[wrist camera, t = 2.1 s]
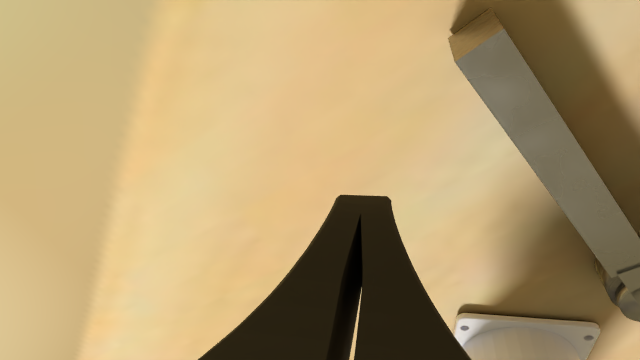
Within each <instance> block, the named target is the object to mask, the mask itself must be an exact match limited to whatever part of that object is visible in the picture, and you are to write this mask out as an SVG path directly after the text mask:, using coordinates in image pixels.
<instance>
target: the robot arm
mask: <svg viewBox="0 0 640 360" xmlns="http://www.w3.org/2000/svg"><path fill="white" fill-rule="evenodd" d="M361 288H362V294H361ZM360 294H361V303H360V313H359V322H358V331H357V340H356V348H355V356H354V360H587V358H588V356H589V354H590V352H591V350H592V348H593V346H594V344H595V342H596V340H597V338H598V336H599V334H600V328H599V326H598V325H597V324H596V323H592V322H581V321H567V320H554V319H540V318H527V317H514V316H500V315H487V314H473V313H461V314H459V315H458V316H457V318H456V323H455V329H454V334H452V332H451V331H450V329H449V328H448V326H447V325H446V323H445V322H444V320H443V319H442V317H441V316H440V314H439V312H438V311H437V309H436V308H435V306H434V304H433V303H432V301H431V299H430V298H429V296H428V294H427V292H426V291H425V289H424V287H423V285H422V283H421V281H420V279H419V277H418V275H417V273H416V271H415V269H414V267H413V265H412V263H411V261H410V259H409V257H408V254H407V252H406V249H405V247H404V245H403V242H402V240H401V237H400V235H399V232H398V229H397V226H396V223H395V219H394V215H393V211H392V206H391V200H390V199H389V198H388V197H387V196H360V195H340V196H339V197H337V198H336V200H335V203H334V205H333V207H332V209H331V211H330V213H329V214H328V216H327V218H326V220H325V221H324V223H323V225H322V226H321V228H320V230H319V231H318V233H317V234H316V236H315V237H314V239H313V240H312V242H311V243H310V245H309V246H308V248H307V249H306V251H305V252H304V253H303V255H302V256H301V257H300V259H299V260H298V261H297V262H296V264H295V265H294V266H293V268H292V269H291V270H290V272H289V273H288V274H287V275H286V276H285V278H284V279H283V280H282V281H281V282H280V284H279V285H278V286H277V287H276V288H275V289H274V290H273V291H272V293H271V294H270V295H269V296H268V297H267V298H266V299H265V300H264V301H263V302H262V303H261V304H260V305H259V306H258V307H257V308H256V309H255V310H254V311H253V312H252V313H251V314H250V315H249V316H248V317H247V318H246V319H245V320H244V321H243V322H242V323H241V324H240V325H239V326H237V327H236V328H235V329H234V330H233V331H232V332H231V333H229V334H228V335H227V336H226V337H225V338H223V339H222V340H221V341H220V342H219V343H217V344H216V345H215V346H214V347H213V348H212V349H210V350H209V351H208V352H207V353H206V354H204V355H203V356H202V357H201V358H199V359H198V360H349V357H350V351H351V345H352V340H353V334H354V328H355V323H356V317H357V311H358V305H359V300H360Z"/></svg>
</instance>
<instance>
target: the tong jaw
mask: <svg viewBox="0 0 640 360" xmlns="http://www.w3.org/2000/svg"><path fill="white" fill-rule="evenodd" d="M448 40H449V43H450V47H451V50H452V54H453V57H454V61H455V63H456V64H457V66H458V67H459V68H460V70H461V71H462V72H463V74H464V75H465V77H466V78H467V79H468V81H469V82H470V84H471V85H472V86H473V88H474V89H475V90H476V92H477V93H478V95H479V96H480V97H481V99H482V100H483V101H484V103H485V104H486V106H487V107H488V108H489V110H490V111H491V113H492V114H493V115H494V117H495V118H496V119H497V121H498V122H499V124H500V125H501V126H502V128H503V129H504V130H505V132H506V133H507V135H508V136H509V137H510V139H511V140H512V141H513V143H514V144H515V146H516V147H517V148H518V150H519V151H520V153H521V154H522V155H523V157H524V158H525V159H526V161H527V162H528V164H529V165H530V166H531V168H532V169H533V170H534V172H535V173H536V175H537V176H538V177H539V179H540V180H541V182H542V183H543V184H544V186H545V187H546V188H547V190H548V191H549V193H550V194H551V195H552V197H553V198H554V199H555V201H556V202H557V204H558V205H559V206H560V208H561V209H562V211H563V212H564V213H565V215H566V216H567V217H568V219H569V220H570V222H571V223H572V224H573V226H574V227H575V228H576V230H577V231H578V233H579V234H580V235H581V237H582V238H583V239H584V241H585V242H586V244H587V245H588V246H589V248H590V249H591V251H592V252H593V253H594V255H595V256H596V257H597V259H598V260H599V262H600V263H601V264H602V266H603V267H604V268H605V270H606V271H607V273H608V274H609V275H610V277H611V278H613V277H616V276H619V277H620V279H621V280H622V283H621V284H620V285H619V286H618V287H617V289H616V291H615V299H616V301H617V303H618V305H619V307H620V309H621V311H622V313H623V314H624V315H625V316H626V317H628V318H629V319H632V320H635V321H639V322H640V238H639V237H638V235H637V233H636V232H635V230H634V229H633V227H632V226H631V224H630V223H629V221H628V219H627V218H626V216H625V215H624V213H623V212H622V210H621V209H620V207H619V206H618V204H617V202H616V201H615V199H614V198H613V196H612V195H611V193H610V192H609V190H608V188H607V187H606V185H605V184H604V182H603V181H602V179H601V178H600V176H599V175H598V173H597V171H596V170H595V168H594V167H593V165H592V164H591V162H590V161H589V159H588V158H587V156H586V154H585V153H584V151H583V150H582V148H581V147H580V145H579V144H578V142H577V140H576V139H575V137H574V136H573V134H572V133H571V131H570V130H569V128H568V127H567V125H566V123H565V122H564V120H563V119H562V117H561V116H560V114H559V113H558V111H557V109H556V108H555V106H554V105H553V103H552V102H551V100H550V99H549V97H548V96H547V94H546V92H545V91H544V89H543V88H542V86H541V85H540V83H539V82H538V80H537V78H536V77H535V75H534V74H533V72H532V71H531V69H530V68H529V66H528V65H527V63H526V61H525V60H524V58H523V57H522V55H521V54H520V52H519V51H518V49H517V47H516V46H515V44H514V43H513V41H512V40H511V38H510V37H509V35H508V34H507V32H506V30H505V29H504V27H503V26H502V24H501V23H500V21H499V20H498V18H497V16H496V15H495V13H494V12H493V10H492V9H491V8H490V9H488V10H487V11H485V12H484V13H483V14H481V15H480V16H478V17H477V18H476V19H474V20H473V21H471V22H470V23H469V24H467V25H466V26H464V27H463V28H462V29H460V30H459V31H458V32H456V33H455V34H453V35H452V36H451V37H449V38H448Z"/></svg>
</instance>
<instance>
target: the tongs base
mask: <svg viewBox="0 0 640 360" xmlns="http://www.w3.org/2000/svg"><path fill="white" fill-rule="evenodd" d="M639 238H640V237H639ZM595 268H596V270H597V272H598V274H599V276H600V279H601V281H602V283H603V285H604V287H605V289H606V291H607V293H608V295H609V297H610V299H611V301H612V302H613V303H614V304H615V305H616V306H618V307H619V305H618V303H617V301H616V299H615V291H616V289H617V287H618V286H619V285H620V284H621V283H622V280H621V279H620V277H619V276H616V277H613V278H611V277H610V275H609V274H608V273H607V271H606V270H605V268H604V267H603V266H602V264H601V263H600V262H599V260H598V259H597V257H596V258H595Z"/></svg>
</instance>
